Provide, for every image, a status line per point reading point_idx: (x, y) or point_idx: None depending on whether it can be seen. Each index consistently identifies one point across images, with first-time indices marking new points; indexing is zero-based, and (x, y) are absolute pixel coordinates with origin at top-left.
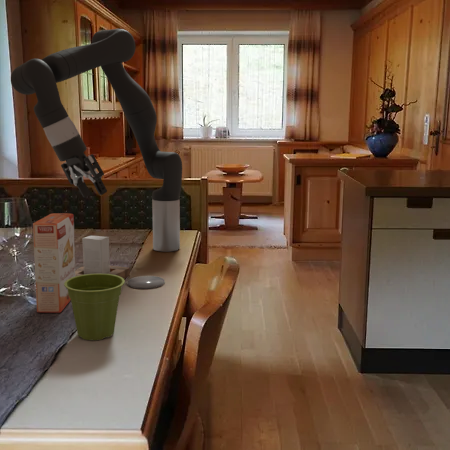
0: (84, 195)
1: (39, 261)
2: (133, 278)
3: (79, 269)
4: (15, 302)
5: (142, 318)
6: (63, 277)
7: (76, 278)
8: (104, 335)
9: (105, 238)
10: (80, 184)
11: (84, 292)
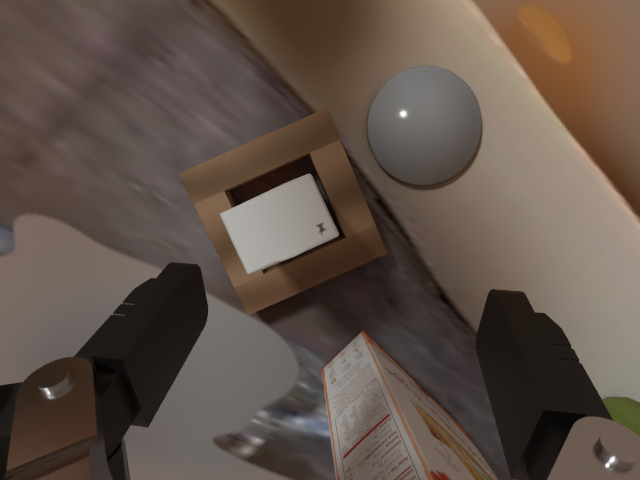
0: (198, 324)
1: None
2: (376, 137)
3: (226, 243)
4: (310, 462)
5: (620, 311)
6: (478, 458)
7: None
8: None
9: (323, 200)
10: (133, 402)
11: None
